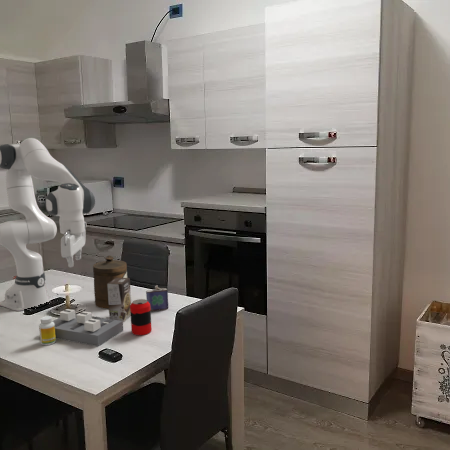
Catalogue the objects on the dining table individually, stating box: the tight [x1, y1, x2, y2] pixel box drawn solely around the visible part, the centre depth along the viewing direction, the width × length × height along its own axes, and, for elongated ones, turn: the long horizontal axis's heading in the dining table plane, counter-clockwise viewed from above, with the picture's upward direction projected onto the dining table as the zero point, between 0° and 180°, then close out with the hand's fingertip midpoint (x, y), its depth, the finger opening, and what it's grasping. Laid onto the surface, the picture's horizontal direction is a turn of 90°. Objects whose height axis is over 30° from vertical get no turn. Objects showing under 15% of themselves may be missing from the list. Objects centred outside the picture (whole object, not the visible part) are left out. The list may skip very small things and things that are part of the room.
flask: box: [145, 284, 169, 312], centre depth 209 cm, size 9×3×11 cm, turn 105°
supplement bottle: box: [38, 315, 57, 346], centre depth 178 cm, size 5×5×10 cm
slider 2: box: [76, 310, 93, 324], centre depth 186 cm, size 4×4×3 cm
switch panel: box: [52, 313, 124, 347], centre depth 187 cm, size 32×15×4 cm, turn 66°
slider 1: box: [59, 308, 76, 321], centre depth 189 cm, size 4×4×3 cm
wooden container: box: [92, 255, 128, 310], centre depth 218 cm, size 15×15×22 cm
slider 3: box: [84, 319, 101, 332], centre depth 178 cm, size 4×4×3 cm
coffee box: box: [107, 277, 132, 323], centre depth 200 cm, size 9×6×16 cm
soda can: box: [130, 298, 152, 336], centre depth 186 cm, size 8×8×12 cm
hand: (74, 263), depth 185 cm, fingers open, 8 cm apart
